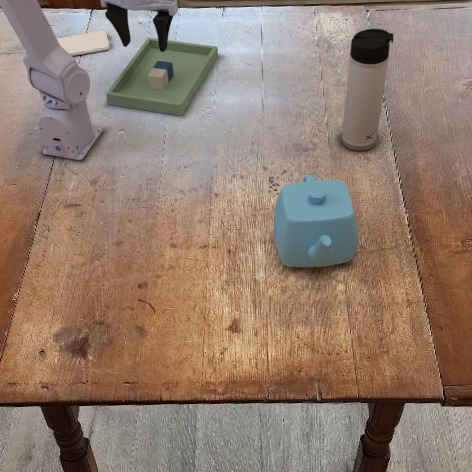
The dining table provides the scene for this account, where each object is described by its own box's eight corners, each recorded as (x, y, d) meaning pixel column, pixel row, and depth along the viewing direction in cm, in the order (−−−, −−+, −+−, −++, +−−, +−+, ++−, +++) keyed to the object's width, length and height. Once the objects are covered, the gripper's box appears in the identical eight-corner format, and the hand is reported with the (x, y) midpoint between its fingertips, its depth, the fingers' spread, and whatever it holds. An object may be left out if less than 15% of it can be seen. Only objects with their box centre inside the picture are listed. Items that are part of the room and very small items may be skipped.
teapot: (282, 300, 100) (283, 244, 91) (269, 217, 112) (269, 160, 102) (365, 293, 101) (374, 237, 92) (344, 211, 112) (350, 154, 103)
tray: (182, 116, 130) (180, 105, 128) (108, 104, 133) (105, 93, 132) (218, 57, 143) (217, 46, 141) (149, 48, 146) (148, 37, 144)
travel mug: (376, 153, 121) (392, 46, 105) (339, 149, 122) (349, 43, 106) (379, 132, 124) (395, 26, 109) (343, 129, 125) (353, 23, 110)
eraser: (163, 90, 135) (161, 77, 132) (149, 88, 135) (147, 75, 133) (174, 74, 138) (172, 61, 136) (160, 72, 139) (158, 59, 136)
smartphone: (37, 41, 148) (105, 30, 150) (38, 45, 149) (106, 33, 150) (39, 58, 144) (109, 46, 145) (40, 62, 144) (110, 49, 146)
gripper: (180, -33, 120) (187, 40, 131) (106, -41, 123) (119, 31, 134) (166, -15, 116) (174, 59, 127) (89, -24, 119) (104, 49, 130)
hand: (145, 46), depth 130 cm, fingers open, 7 cm apart
